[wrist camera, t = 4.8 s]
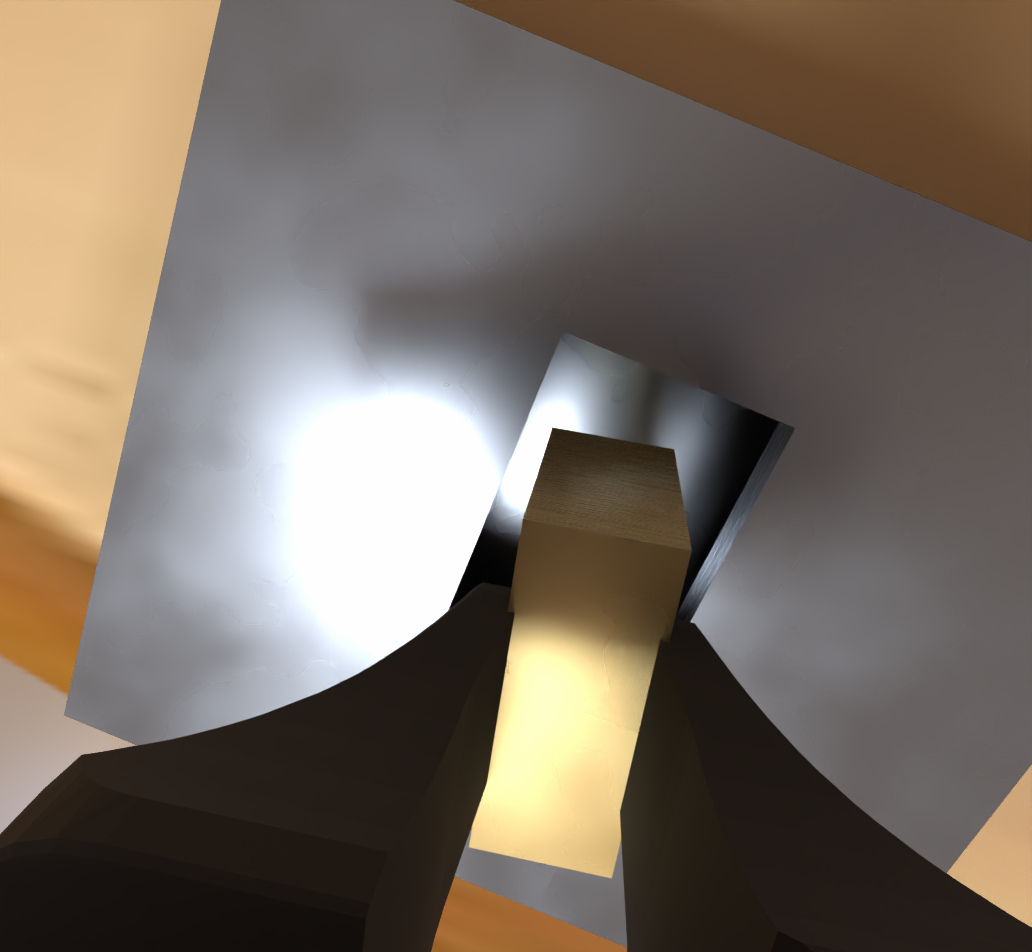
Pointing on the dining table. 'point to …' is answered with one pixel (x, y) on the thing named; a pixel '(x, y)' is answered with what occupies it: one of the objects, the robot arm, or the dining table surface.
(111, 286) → the dining table surface
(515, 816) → the block
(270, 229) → the coin box
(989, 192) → the dining table surface
